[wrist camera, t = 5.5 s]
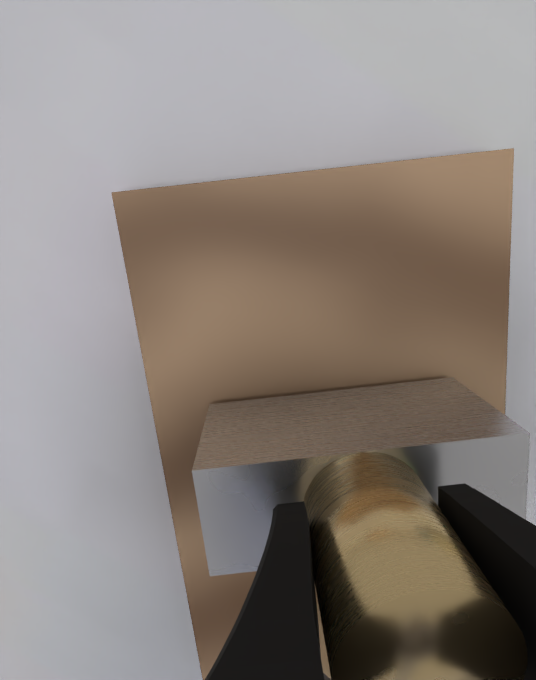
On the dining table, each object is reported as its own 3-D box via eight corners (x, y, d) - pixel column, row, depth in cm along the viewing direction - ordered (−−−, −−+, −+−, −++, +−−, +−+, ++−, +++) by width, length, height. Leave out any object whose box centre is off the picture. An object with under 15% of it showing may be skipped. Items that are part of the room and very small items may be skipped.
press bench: (477, 635, 19) (588, 836, 13) (210, 665, 19) (188, 882, 13) (487, 157, 14) (676, 94, 8) (126, 196, 14) (21, 166, 8)
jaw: (452, 459, 15) (677, 716, 7) (221, 485, 15) (183, 771, 7) (452, 377, 14) (705, 560, 6) (209, 404, 14) (151, 622, 6)
